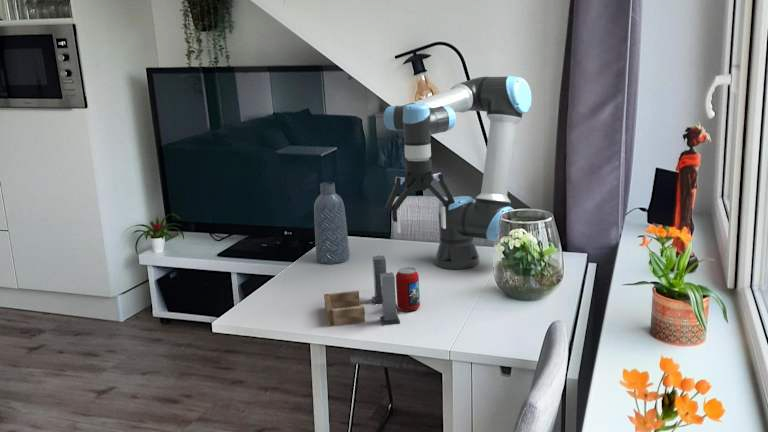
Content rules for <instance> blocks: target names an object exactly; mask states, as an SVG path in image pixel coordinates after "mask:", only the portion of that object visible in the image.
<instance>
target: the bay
mask: <svg viewBox="0 0 768 432" xmlns="http://www.w3.org/2000/svg"><path fill="white" fill-rule="evenodd" d="M323 298H324V300H323V301H324V309H325V315H326V319H327V326H328V327H335V326H336V327H337V326H343V325H344V326H346V325H351V324H361V323H363V324H364V323H366V312H365V306H361V303H360V291H359V290H352V291H343V292H334V293H333V292H332V293H325V294H323Z"/></svg>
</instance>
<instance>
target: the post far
mask: <svg viewBox="0 0 768 432" xmlns="http://www.w3.org/2000/svg"><path fill="white" fill-rule="evenodd" d="M386 260H387V258H386V257H385V255H376V256H375V255H374V256H373V255H372V271H373V282H374V283H373V285H374V288H373V289H374V296H372V302H373V303H374V305H376V304H378V305H382V294H381V277H380V274H381V273H387V262H386Z"/></svg>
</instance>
